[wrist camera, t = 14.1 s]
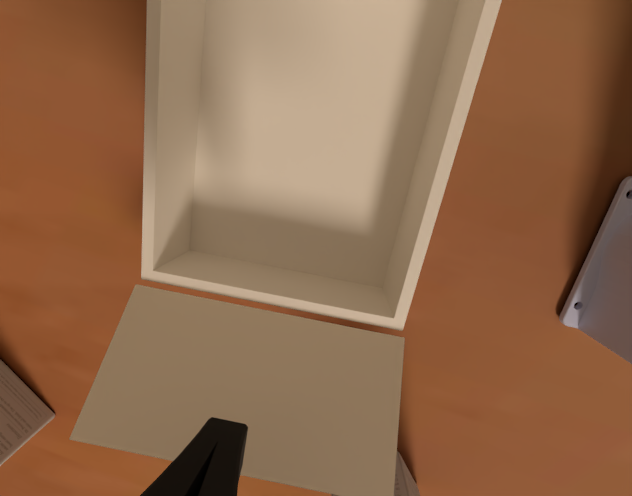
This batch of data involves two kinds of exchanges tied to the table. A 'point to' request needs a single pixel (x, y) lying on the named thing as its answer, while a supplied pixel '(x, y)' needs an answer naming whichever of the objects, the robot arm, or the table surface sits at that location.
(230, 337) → the carton flap
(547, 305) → the table surface
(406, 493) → the skincare box
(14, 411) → the supplement box
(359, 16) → the carton
